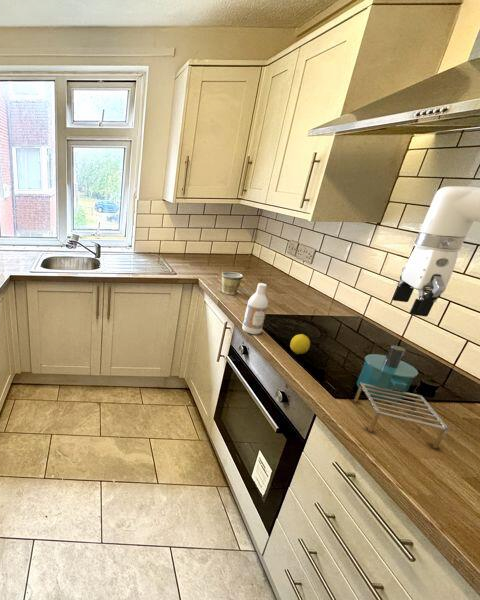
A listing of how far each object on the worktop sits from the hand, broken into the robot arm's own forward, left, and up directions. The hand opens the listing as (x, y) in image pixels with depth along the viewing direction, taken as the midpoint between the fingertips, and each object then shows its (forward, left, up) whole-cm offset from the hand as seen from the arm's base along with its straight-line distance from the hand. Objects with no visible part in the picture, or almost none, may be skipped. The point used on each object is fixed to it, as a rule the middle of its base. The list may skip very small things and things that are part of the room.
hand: (408, 307), depth 81 cm
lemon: (+16, -16, -28) cm, 36 cm away
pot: (-3, -3, -28) cm, 28 cm away
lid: (-3, -3, -19) cm, 20 cm away
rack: (-1, +12, -28) cm, 30 cm away
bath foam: (+30, -29, -28) cm, 50 cm away
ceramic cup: (+38, -72, -28) cm, 86 cm away
